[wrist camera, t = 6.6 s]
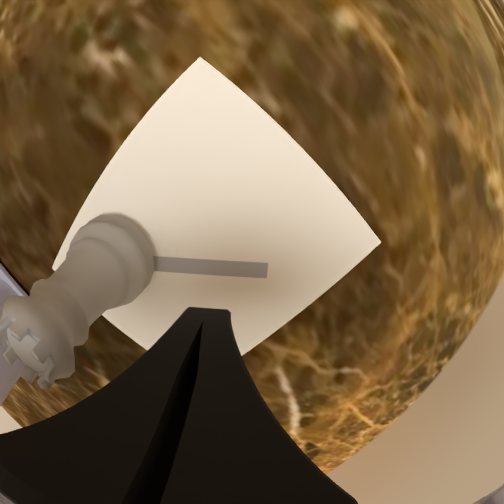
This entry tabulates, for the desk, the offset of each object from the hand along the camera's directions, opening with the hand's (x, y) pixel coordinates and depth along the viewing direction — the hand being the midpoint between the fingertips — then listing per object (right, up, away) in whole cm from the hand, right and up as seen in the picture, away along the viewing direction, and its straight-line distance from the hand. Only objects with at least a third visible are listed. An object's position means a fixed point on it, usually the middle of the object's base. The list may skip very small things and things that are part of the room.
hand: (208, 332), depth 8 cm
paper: (-1, +2, +4) cm, 5 cm away
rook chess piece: (-5, +3, +4) cm, 7 cm away
